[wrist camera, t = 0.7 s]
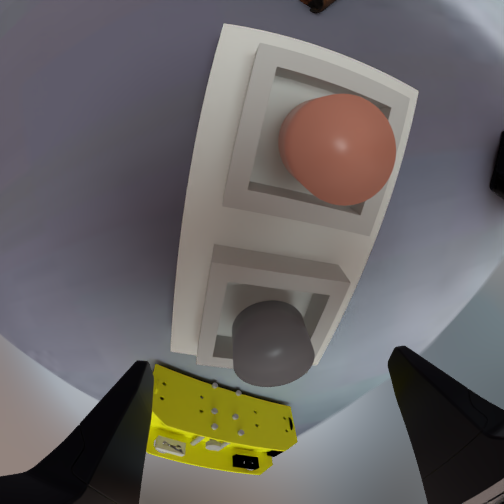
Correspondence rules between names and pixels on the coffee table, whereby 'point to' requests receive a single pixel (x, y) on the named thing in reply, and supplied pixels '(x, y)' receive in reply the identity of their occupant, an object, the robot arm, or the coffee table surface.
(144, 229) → the coffee table surface
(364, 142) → the pink rounded ball
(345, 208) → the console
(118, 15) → the coffee table surface
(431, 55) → the coffee table surface
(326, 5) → the sunglasses case
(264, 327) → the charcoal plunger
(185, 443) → the yellow toy chassis
